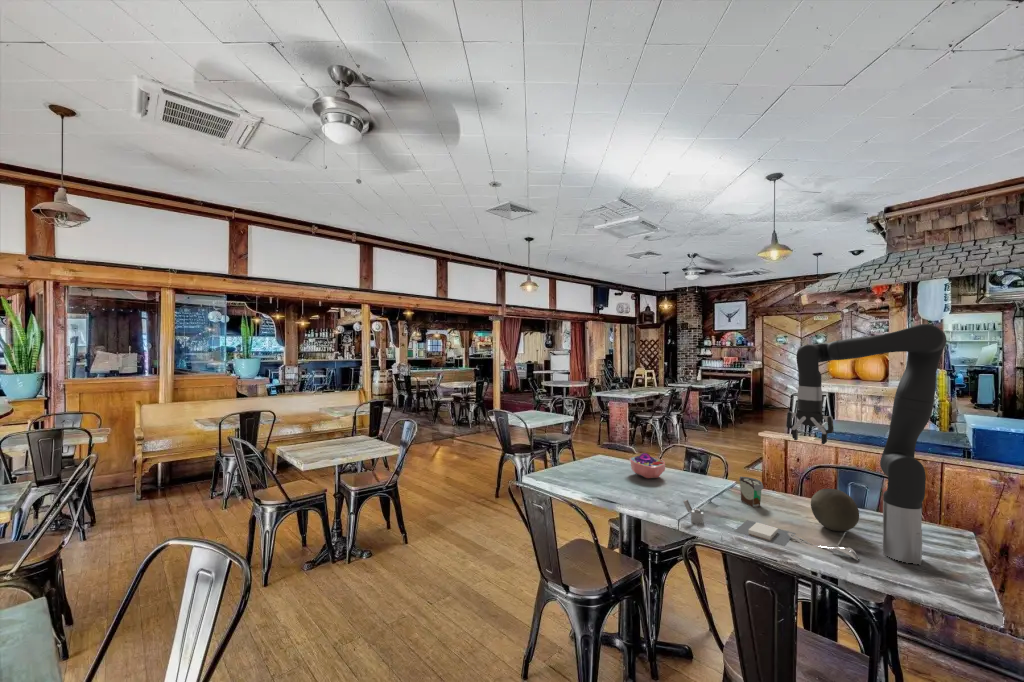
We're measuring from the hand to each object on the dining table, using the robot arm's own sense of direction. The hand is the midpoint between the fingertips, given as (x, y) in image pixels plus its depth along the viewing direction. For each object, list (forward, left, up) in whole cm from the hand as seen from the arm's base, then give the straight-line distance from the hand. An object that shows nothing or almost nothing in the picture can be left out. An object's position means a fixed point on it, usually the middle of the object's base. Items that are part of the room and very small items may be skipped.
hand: (809, 441), depth 161 cm
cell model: (+72, -12, -32) cm, 80 cm away
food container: (+22, -11, -32) cm, 41 cm away
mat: (+10, +17, -32) cm, 38 cm away
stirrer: (-7, +16, -32) cm, 37 cm away
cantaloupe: (-7, -4, -32) cm, 33 cm away
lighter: (+32, +26, -32) cm, 52 cm away
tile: (+10, +14, -31) cm, 35 cm away
